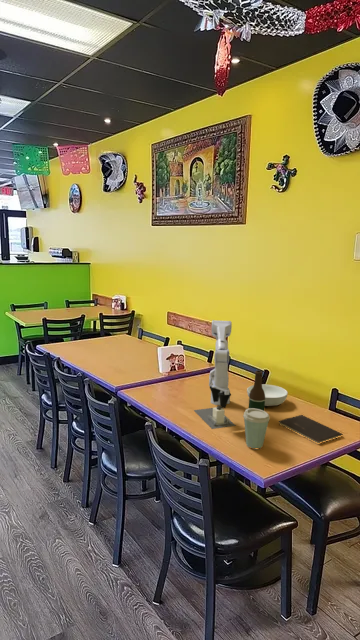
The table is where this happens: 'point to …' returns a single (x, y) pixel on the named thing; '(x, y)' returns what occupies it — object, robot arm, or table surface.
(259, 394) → the beer bottle
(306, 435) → the hardcover book
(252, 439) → the disposable coffee cup
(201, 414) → the mat
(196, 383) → the table surface
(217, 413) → the cream square bottle
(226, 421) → the end holder
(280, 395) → the serving bowl
